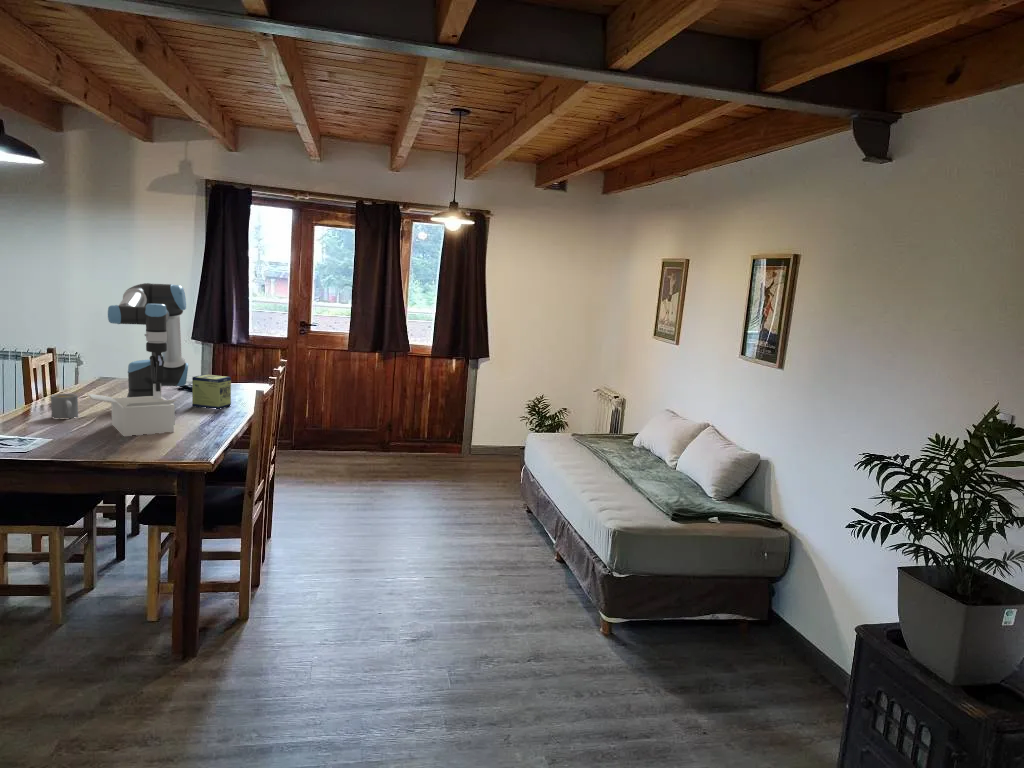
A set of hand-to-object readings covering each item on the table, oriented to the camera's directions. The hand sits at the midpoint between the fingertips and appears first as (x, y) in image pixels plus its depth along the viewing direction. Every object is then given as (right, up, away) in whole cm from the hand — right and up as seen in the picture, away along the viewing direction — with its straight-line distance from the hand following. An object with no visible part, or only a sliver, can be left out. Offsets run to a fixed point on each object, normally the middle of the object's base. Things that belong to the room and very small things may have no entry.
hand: (157, 398), depth 282 cm
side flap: (-22, -1, +7) cm, 23 cm away
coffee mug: (-54, -9, +24) cm, 60 cm away
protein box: (-8, -6, +68) cm, 69 cm away
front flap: (-5, -3, +3) cm, 7 cm away
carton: (-14, -13, +14) cm, 24 cm away
